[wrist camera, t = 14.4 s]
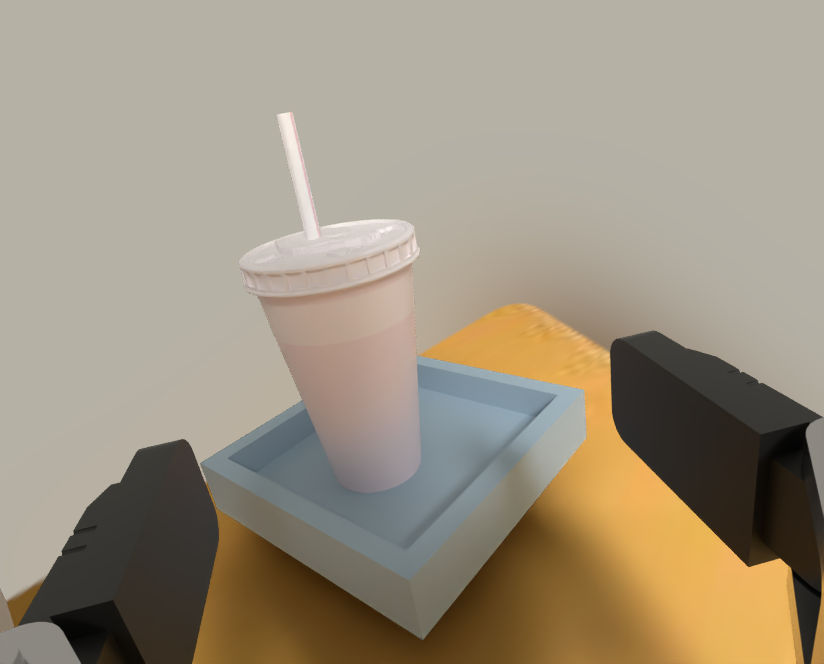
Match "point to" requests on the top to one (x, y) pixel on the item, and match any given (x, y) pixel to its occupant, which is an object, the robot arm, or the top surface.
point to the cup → (5, 615)
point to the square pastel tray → (407, 489)
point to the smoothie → (346, 332)
